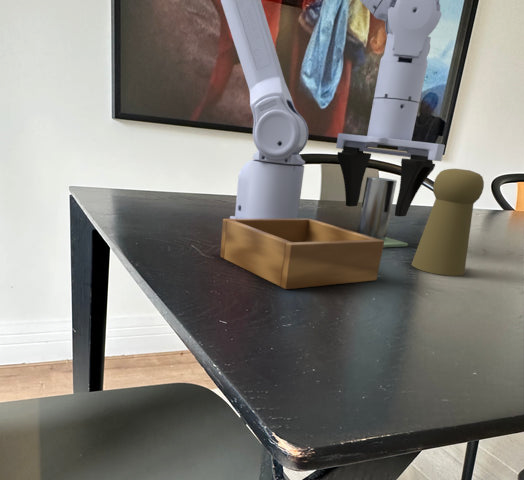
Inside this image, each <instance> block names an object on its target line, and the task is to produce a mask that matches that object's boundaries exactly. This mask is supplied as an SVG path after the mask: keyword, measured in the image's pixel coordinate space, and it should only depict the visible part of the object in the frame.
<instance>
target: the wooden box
mask: <svg viewBox="0 0 524 480" xmlns="http://www.w3.org/2000/svg"><path fill="white" fill-rule="evenodd" d="M220 240H221V242H220V254H219V255H220V258H222V259H224V260H226V261H227V262H230V263H232V264H234V265H236V266H238V267H240V268H242V269H244V270H245V271H247V272H250V273H251V274H253V275H256V276H258V277H260V278H262V279H264V280H266V281H267V282H270V283H272V284H274V285H276V286H278V287H280V288H281V289H284V290H294V289H303V288H313V287H323V286H332V285H333V286H334V285H343V284H351V283H363V282H372V281H373V282H374V281H377V279H378V274H379V269H380V264H381V259H382V255H383V249H384V248H383V245H384V241H383V240H379V239H376V238H373V237H369V236H366V235H363V234H360V233H357V231H353V230H349V229H347V228H343V227H339V226H336V225H334V224H330V223H326V222H323V221H319V220H316V219H313V218H305V217H304V218H302V217H301V218H299V217H298V218H282V219H230V218H223V219H222V228H221V239H220Z"/></svg>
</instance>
